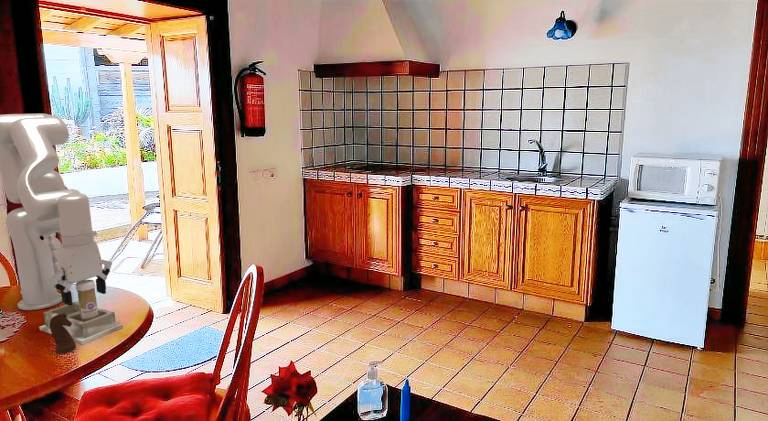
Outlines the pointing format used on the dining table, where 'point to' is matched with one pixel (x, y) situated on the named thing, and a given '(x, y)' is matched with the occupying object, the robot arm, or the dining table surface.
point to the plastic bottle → (53, 249)
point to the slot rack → (83, 323)
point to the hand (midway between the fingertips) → (85, 298)
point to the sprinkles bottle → (87, 300)
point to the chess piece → (62, 334)
